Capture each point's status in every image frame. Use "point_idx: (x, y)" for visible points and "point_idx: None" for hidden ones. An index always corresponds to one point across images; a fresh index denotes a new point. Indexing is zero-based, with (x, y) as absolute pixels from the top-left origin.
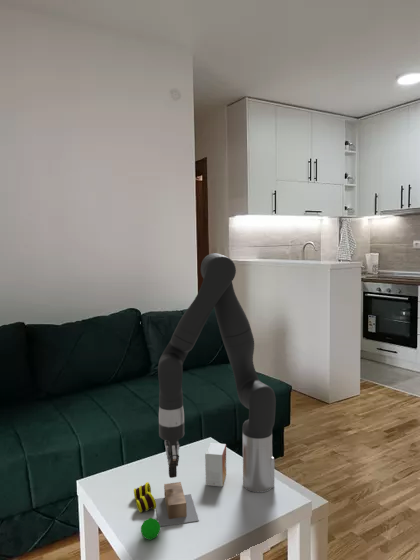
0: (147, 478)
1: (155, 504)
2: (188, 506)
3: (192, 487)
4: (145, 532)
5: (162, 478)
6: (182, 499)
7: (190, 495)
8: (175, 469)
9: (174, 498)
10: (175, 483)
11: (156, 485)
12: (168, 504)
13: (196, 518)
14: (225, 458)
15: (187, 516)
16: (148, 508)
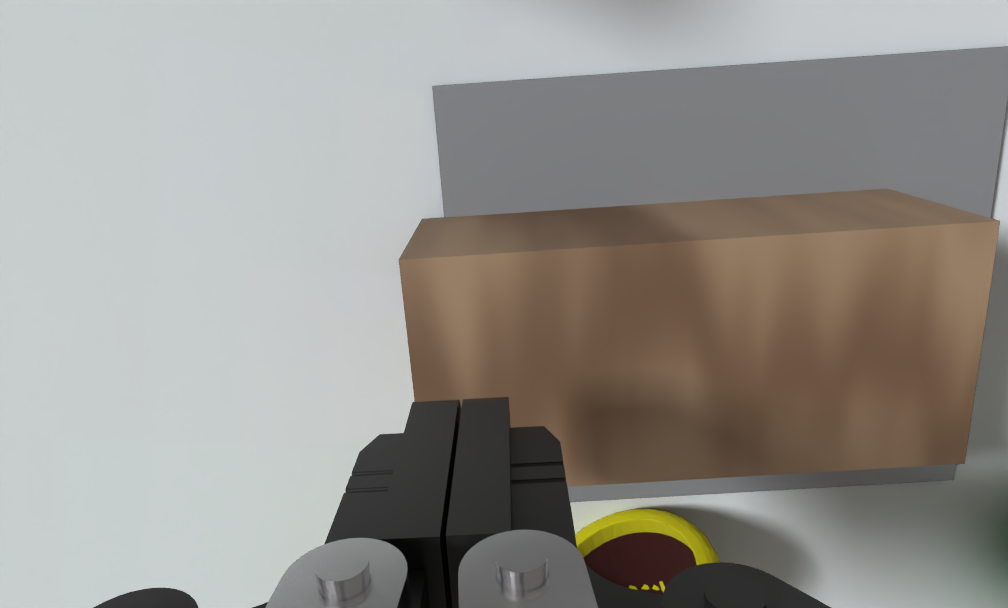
0: (37, 567)
1: (713, 550)
2: (697, 146)
3: (257, 43)
4: None
5: (32, 411)
6: (890, 270)
7: (462, 94)
8: (513, 491)
9: (829, 380)
10: (434, 341)
11: (187, 480)
12: (943, 463)
13: (968, 71)
14: None
15: (889, 177)
16: None
